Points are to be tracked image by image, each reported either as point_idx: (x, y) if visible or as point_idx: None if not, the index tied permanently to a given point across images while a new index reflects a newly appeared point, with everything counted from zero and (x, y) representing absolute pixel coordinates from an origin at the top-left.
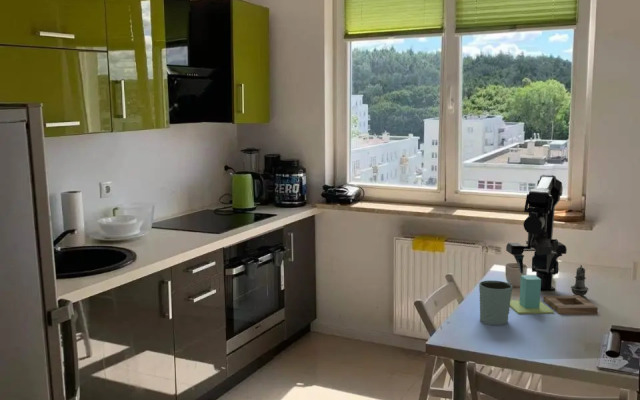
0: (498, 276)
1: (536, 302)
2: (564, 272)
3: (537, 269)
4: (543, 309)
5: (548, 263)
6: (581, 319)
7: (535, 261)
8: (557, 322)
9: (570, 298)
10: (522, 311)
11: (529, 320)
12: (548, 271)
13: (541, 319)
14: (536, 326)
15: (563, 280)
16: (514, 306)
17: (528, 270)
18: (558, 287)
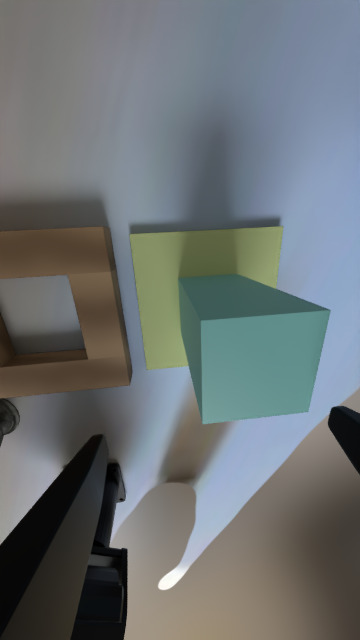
0: (193, 539)
1: (195, 280)
2: None
3: (102, 565)
4: (166, 262)
5: (65, 574)
6: (16, 139)
7: (112, 618)
8: (149, 90)
9: (22, 365)
10: (262, 234)
11: (269, 131)
12: (98, 444)
13: (210, 145)
14: (276, 19)
15: None
16: None
17: None
18: None
